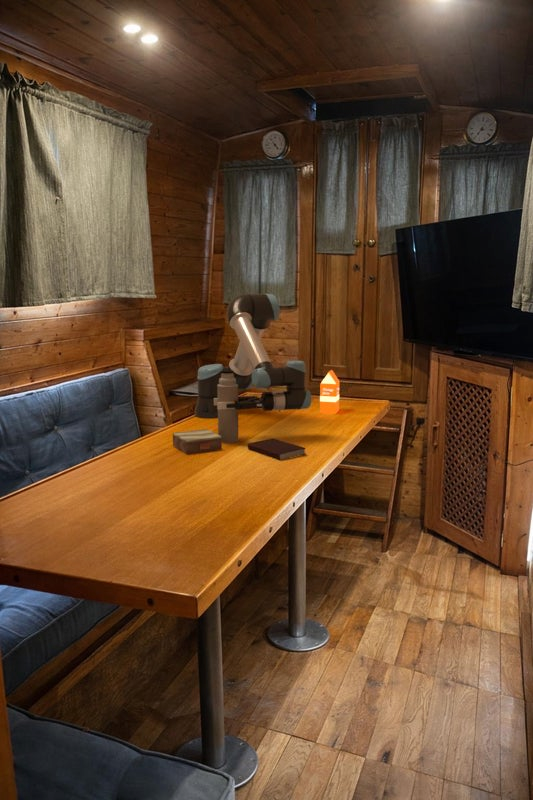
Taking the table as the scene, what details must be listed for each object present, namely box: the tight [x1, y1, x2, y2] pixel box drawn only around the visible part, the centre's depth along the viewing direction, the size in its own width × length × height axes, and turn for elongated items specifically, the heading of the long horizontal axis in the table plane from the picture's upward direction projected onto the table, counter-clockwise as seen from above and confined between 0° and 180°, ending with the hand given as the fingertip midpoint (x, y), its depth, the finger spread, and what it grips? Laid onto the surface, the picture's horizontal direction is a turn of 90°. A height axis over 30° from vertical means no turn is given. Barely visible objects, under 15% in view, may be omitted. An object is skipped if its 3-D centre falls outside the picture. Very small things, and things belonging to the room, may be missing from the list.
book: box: [247, 438, 306, 461], centre depth 240 cm, size 12×19×3 cm, turn 37°
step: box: [172, 428, 223, 455], centre depth 246 cm, size 15×14×5 cm
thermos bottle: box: [217, 370, 239, 444], centre depth 254 cm, size 8×8×28 cm
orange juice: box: [319, 369, 340, 415], centre depth 309 cm, size 8×9×20 cm
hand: (215, 403), depth 253 cm, fingers closed on thermos bottle, 8 cm apart
